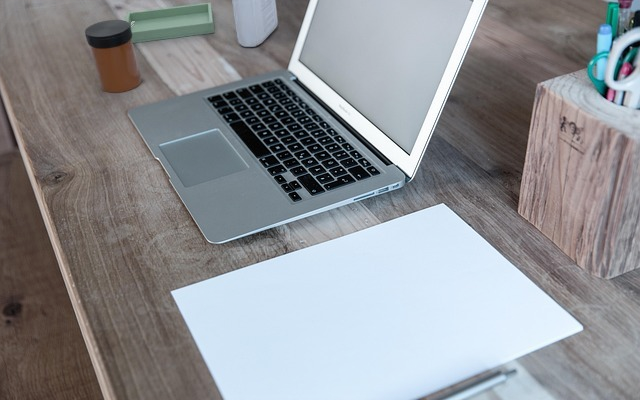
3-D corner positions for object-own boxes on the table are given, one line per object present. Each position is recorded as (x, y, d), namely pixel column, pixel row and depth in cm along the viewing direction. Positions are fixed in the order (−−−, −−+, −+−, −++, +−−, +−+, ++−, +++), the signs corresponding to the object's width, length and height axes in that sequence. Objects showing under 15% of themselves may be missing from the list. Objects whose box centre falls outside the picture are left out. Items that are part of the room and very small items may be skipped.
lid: (84, 50, 101) (81, 39, 100) (89, 33, 106) (86, 22, 105) (131, 44, 101) (128, 33, 100) (133, 28, 107) (131, 17, 106)
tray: (125, 44, 121) (122, 33, 120) (129, 22, 129) (126, 12, 128) (214, 32, 122) (212, 22, 121) (212, 12, 130) (211, 2, 129)
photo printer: (258, 23, 124) (249, -49, 117) (281, 25, 123) (273, -48, 116) (235, 47, 116) (223, -28, 109) (259, 49, 115) (249, -28, 108)
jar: (99, 95, 105) (84, 41, 100) (103, 78, 110) (89, 26, 105) (140, 89, 106) (127, 36, 101) (142, 73, 111) (130, 21, 106)
